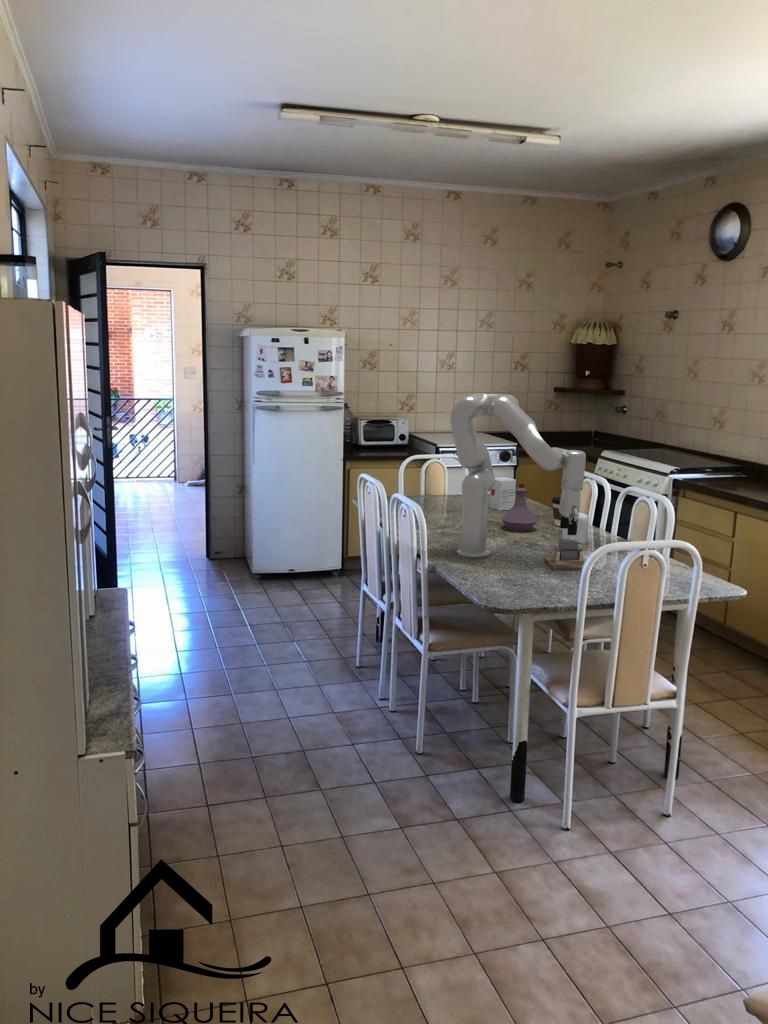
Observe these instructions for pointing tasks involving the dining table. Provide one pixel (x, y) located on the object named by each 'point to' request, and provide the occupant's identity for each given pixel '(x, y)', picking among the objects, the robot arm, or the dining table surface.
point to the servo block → (568, 549)
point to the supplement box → (503, 493)
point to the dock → (564, 562)
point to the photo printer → (579, 529)
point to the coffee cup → (556, 510)
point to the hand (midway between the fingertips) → (568, 531)
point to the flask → (519, 513)
